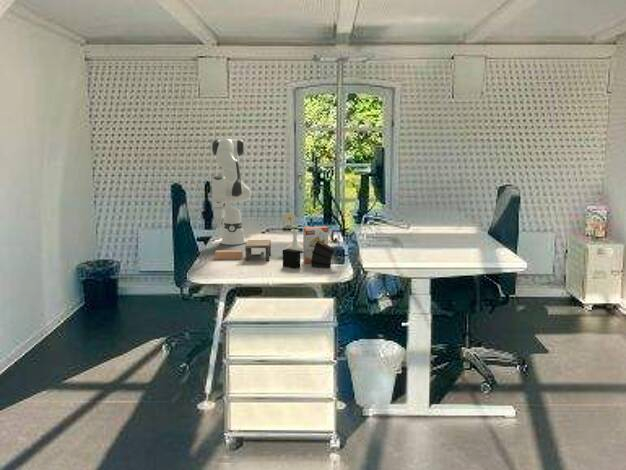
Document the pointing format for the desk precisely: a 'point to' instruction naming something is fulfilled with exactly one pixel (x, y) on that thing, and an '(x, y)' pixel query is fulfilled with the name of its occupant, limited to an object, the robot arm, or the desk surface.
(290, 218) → the flower in vase
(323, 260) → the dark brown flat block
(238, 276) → the desk surface
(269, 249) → the small wooden table
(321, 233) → the cracker box
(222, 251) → the brown wooden block
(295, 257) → the electronic device
